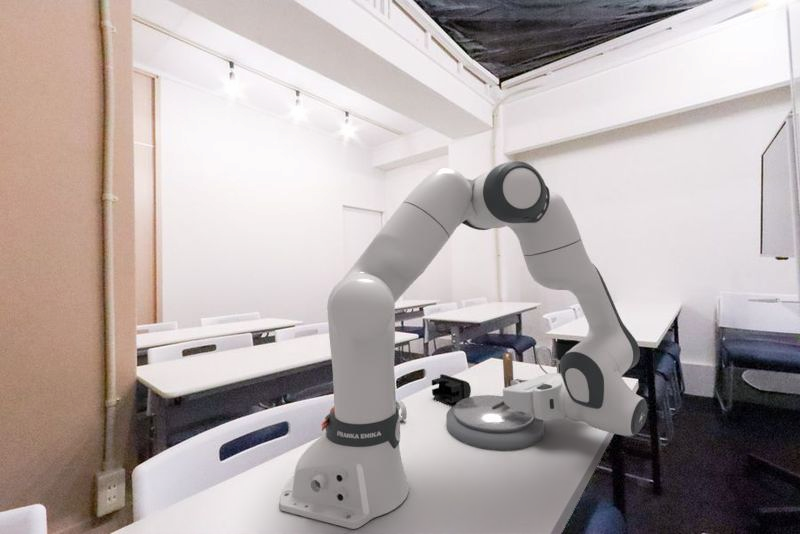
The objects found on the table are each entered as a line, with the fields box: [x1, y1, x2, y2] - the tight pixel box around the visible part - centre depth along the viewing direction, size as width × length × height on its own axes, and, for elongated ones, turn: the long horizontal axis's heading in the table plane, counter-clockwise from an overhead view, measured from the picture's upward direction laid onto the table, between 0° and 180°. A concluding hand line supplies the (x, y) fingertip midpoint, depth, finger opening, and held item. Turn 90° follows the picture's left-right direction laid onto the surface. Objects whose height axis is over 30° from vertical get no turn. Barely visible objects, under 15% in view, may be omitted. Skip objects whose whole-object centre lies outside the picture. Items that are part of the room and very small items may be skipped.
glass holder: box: [535, 339, 581, 375], centre depth 107 cm, size 9×14×15 cm, turn 75°
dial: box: [454, 352, 534, 433], centre depth 85 cm, size 19×19×14 cm
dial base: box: [446, 406, 545, 451], centre depth 85 cm, size 23×23×3 cm
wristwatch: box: [396, 399, 408, 422], centre depth 91 cm, size 3×5×5 cm, turn 29°
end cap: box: [431, 373, 472, 408], centre depth 104 cm, size 10×7×7 cm
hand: (513, 382), depth 90 cm, fingers closed, pressing on dial
